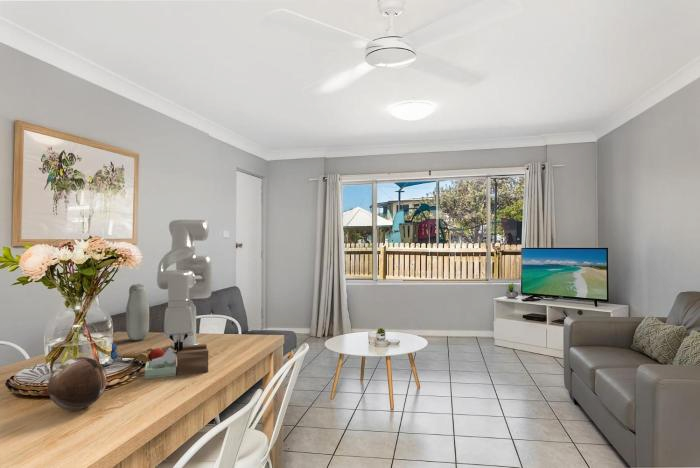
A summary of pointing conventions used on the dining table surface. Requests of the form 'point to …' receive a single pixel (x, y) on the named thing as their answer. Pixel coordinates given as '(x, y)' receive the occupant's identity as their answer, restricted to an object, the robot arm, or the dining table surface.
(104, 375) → the wooden sphere
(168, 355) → the chip
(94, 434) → the dining table surface
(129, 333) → the grey bottle vase
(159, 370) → the tray
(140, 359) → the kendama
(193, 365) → the slot block
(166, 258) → the robot arm
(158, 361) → the chip
